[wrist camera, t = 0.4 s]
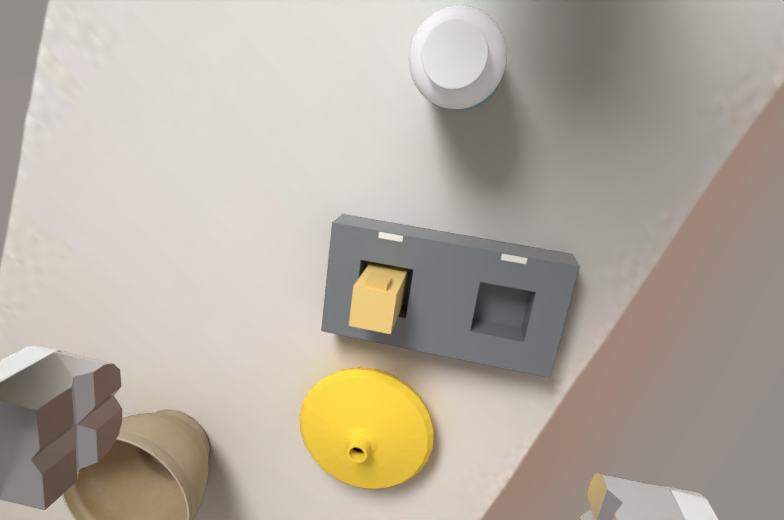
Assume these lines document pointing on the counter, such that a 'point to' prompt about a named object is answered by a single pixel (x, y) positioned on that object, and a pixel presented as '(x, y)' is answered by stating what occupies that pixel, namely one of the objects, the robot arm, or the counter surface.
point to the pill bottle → (458, 57)
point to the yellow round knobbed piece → (366, 428)
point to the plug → (378, 297)
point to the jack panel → (456, 293)
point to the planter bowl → (145, 472)
